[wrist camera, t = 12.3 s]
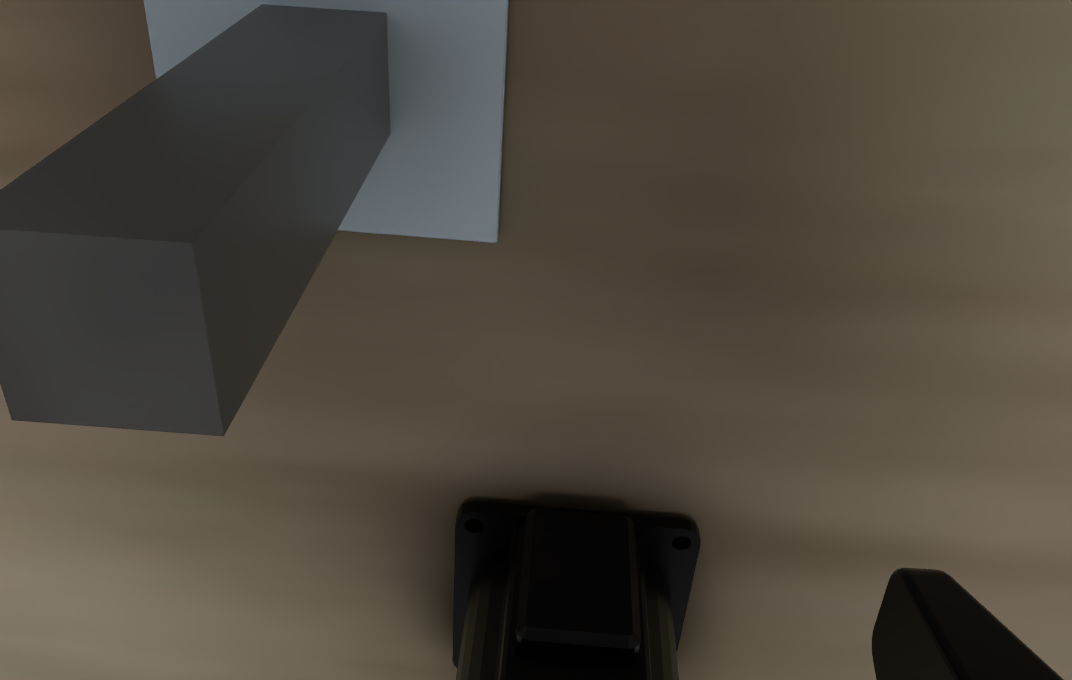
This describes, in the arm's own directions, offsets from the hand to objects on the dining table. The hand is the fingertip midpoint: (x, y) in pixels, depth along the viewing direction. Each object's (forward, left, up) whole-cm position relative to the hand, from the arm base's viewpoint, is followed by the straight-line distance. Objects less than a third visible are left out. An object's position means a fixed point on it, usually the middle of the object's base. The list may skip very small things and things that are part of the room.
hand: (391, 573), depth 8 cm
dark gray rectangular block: (+1, +4, -12) cm, 13 cm away
